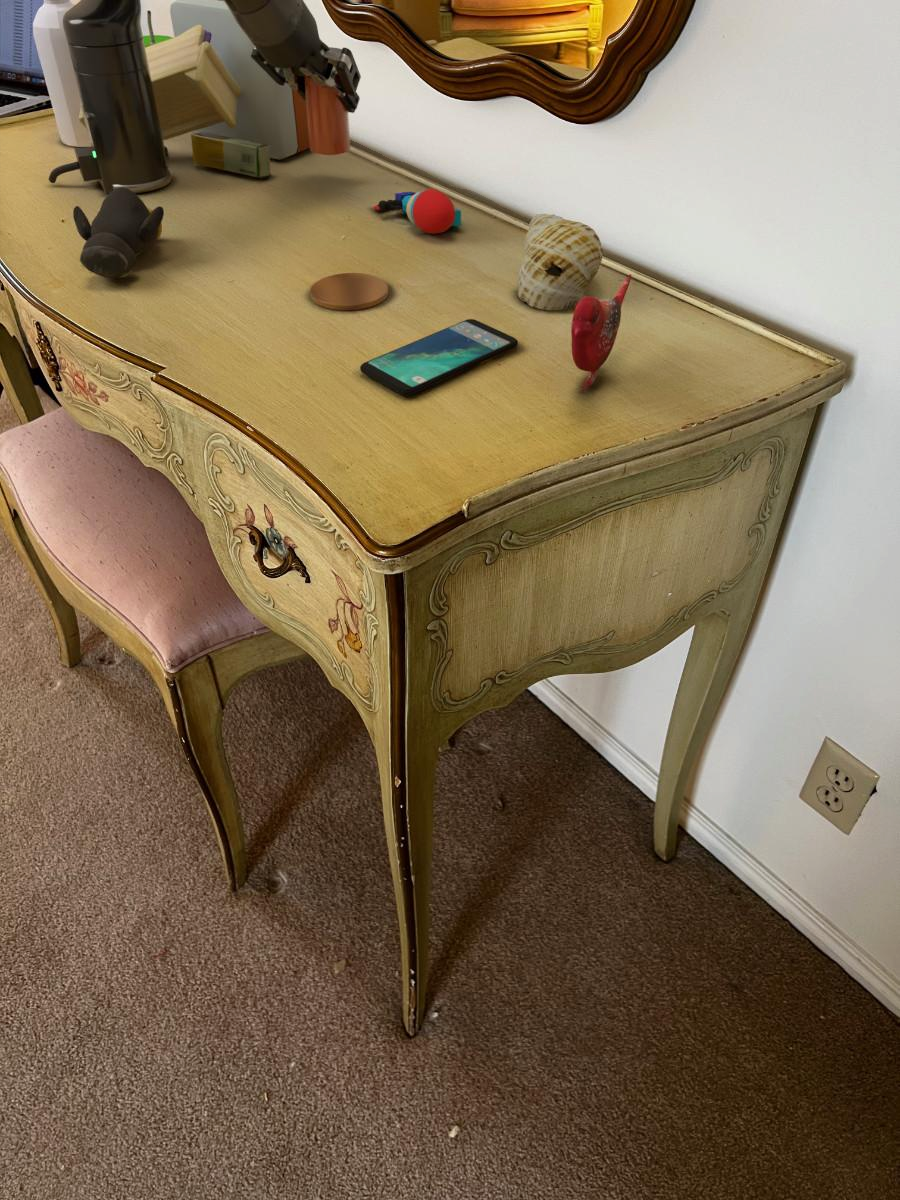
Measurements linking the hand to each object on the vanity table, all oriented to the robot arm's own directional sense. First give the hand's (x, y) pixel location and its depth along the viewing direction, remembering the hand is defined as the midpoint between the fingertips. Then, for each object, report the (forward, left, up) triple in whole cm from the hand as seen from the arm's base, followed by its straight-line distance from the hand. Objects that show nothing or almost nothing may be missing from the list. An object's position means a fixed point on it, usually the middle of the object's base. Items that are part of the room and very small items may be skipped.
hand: (334, 102), depth 122 cm
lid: (-1, -1, +6) cm, 6 cm away
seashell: (+10, -44, -10) cm, 46 cm away
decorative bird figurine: (+4, -62, -10) cm, 63 cm away
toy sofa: (-21, +14, -4) cm, 26 cm away
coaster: (-11, -36, -10) cm, 39 cm away
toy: (-29, -10, -6) cm, 31 cm away
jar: (-1, -1, -5) cm, 6 cm away
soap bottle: (-29, +33, -10) cm, 45 cm away
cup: (-16, +44, -10) cm, 48 cm away
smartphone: (-8, -54, -10) cm, 56 cm away
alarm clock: (-7, +19, -10) cm, 23 cm away
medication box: (-13, +9, -10) cm, 18 cm away
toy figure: (+4, -20, -10) cm, 23 cm away
